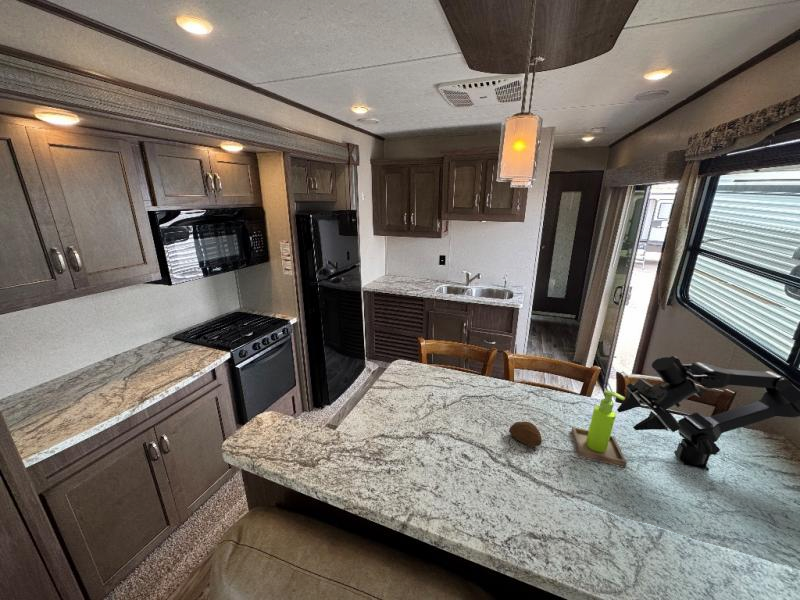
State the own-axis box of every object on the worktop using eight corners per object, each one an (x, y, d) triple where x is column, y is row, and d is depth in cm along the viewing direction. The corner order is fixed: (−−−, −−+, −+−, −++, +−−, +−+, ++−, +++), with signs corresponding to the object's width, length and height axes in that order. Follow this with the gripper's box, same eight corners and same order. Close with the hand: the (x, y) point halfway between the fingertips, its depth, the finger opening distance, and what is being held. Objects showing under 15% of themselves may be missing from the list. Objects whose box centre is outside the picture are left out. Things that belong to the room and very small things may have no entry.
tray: (612, 441, 107) (614, 436, 106) (625, 467, 95) (626, 462, 95) (571, 431, 111) (572, 426, 110) (578, 455, 99) (579, 450, 99)
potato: (512, 429, 110) (515, 411, 109) (543, 442, 104) (546, 424, 103) (505, 439, 105) (508, 421, 103) (538, 454, 99) (541, 435, 97)
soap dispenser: (607, 457, 98) (623, 400, 93) (583, 445, 103) (596, 391, 98) (611, 448, 102) (626, 393, 97) (588, 437, 107) (601, 385, 102)
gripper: (638, 360, 104) (596, 386, 108) (680, 389, 86) (627, 419, 90) (658, 384, 105) (615, 409, 109) (702, 418, 87) (650, 446, 91)
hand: (625, 419), depth 99 cm, fingers open, 9 cm apart
